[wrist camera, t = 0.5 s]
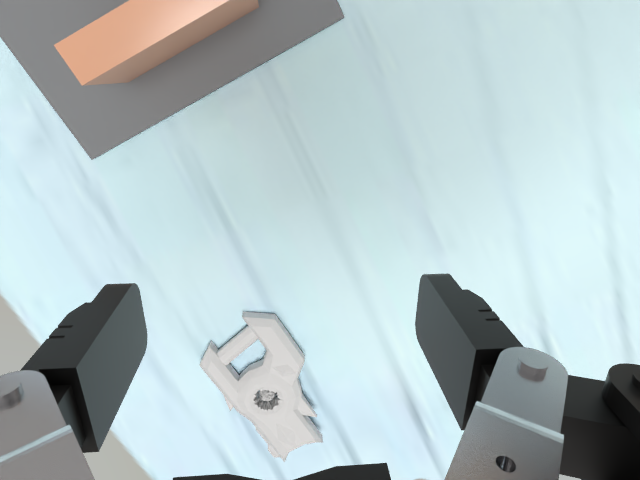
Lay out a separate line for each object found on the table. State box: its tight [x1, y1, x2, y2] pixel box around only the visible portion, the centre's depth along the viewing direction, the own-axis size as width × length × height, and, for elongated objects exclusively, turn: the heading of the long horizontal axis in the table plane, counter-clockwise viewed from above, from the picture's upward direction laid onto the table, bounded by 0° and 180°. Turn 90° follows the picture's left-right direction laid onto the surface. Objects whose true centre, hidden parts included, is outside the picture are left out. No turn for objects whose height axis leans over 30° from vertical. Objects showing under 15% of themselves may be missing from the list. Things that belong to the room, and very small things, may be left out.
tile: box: [54, 0, 259, 86], centre depth 29 cm, size 12×2×9 cm, turn 117°
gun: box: [200, 311, 323, 462], centre depth 46 cm, size 18×3×10 cm
